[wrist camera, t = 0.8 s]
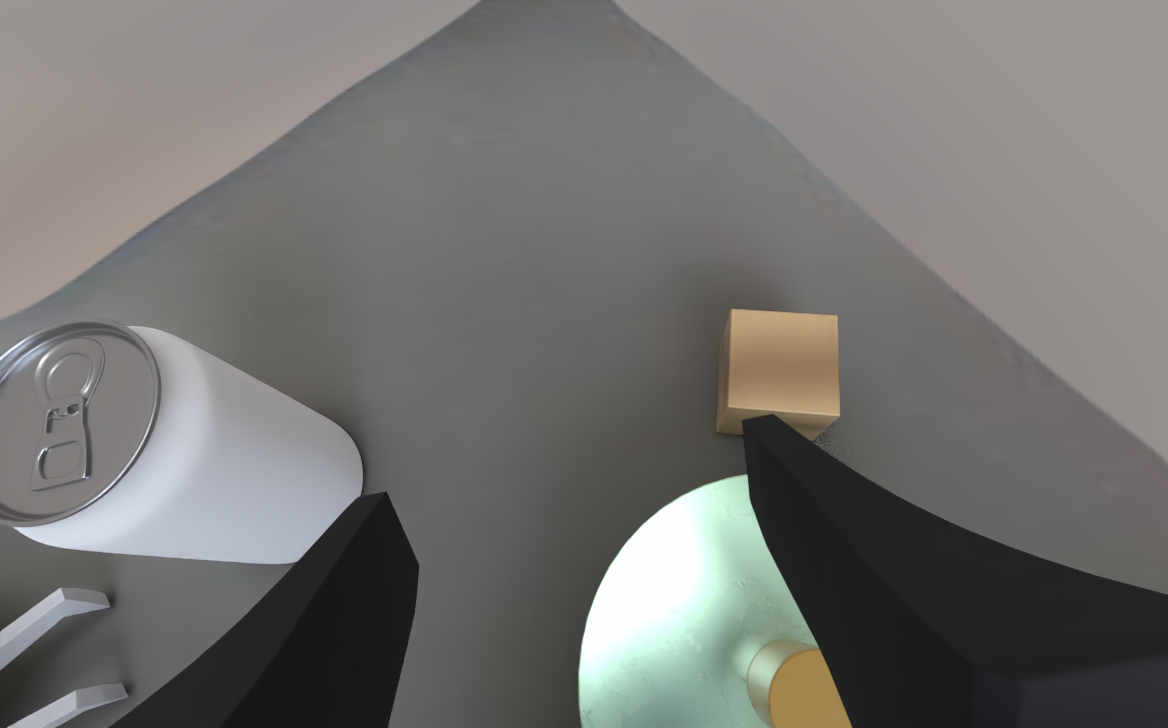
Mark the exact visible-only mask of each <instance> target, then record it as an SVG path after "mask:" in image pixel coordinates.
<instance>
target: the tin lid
mask: <svg viewBox="0 0 1168 728" xmlns="http://www.w3.org/2000/svg"><path fill="white" fill-rule="evenodd" d="M578 707H579V715H580V723H581V728H852V726H851V723H850V721H849V718H848V716H847V713H846V711H845V708H844V706H843V703H842V701H841V698H840V696H839V693H838V691H837V688H836V686H835V683H834V681H833V678H832V676H831V673H830V671H829V669H828V666H827V664H826V662H825V660H824V658H823V656H822V653H821V651H820V649H819V647H818V645H817V643H816V641H815V639H814V637H813V635H812V633H811V631H810V629H809V627H808V625H807V624H806V622H805V620H804V618H803V616H802V614H801V612H800V610H799V608H798V606H797V604H796V602H795V600H794V598H793V597H792V595H791V593H790V591H789V589H788V587H787V585H786V583H785V581H784V579H783V577H782V575H781V573H780V571H779V569H778V567H777V565H776V563H775V562H774V560H773V558H772V556H771V554H770V552H769V550H768V548H767V546H766V543H765V541H764V538H763V535H762V533H761V530H760V527H759V525H758V522H757V519H756V516H755V514H754V511H753V508H752V505H751V502H750V497H749V487H748V477H747V474H743V475H737V476H731V477H727V478H723V479H720V480H717V481H713V482H710V483H707V484H704V485H702V486H700V487H697V488H695V489H693V490H691V491H689V492H687V493H684V494H682V495H681V496H679V497H677V498H676V499H674V500H673V501H671V502H670V503H668V504H666V505H665V506H663V507H662V508H660V509H659V510H658V511H657V512H656V513H654V514H653V515H652V516H651V517H650V518H648V519H647V520H646V521H645V522H644V523H643V524H641V525H640V527H639V528H638V529H637V530H636V531H635V532H634V533H633V534H632V535H631V536H630V538H629V539H628V540H627V541H626V542H625V543H624V544H623V546H622V547H621V549H620V550H619V552H618V553H617V555H616V556H615V557H614V559H613V560H612V562H611V563H610V565H609V566H608V568H607V570H606V572H605V574H604V576H603V578H602V580H601V582H600V584H599V586H598V588H597V590H596V593H595V596H594V598H593V601H592V604H591V607H590V609H589V612H588V615H587V619H586V623H585V628H584V632H583V636H582V641H581V647H580V656H579V666H578Z"/></svg>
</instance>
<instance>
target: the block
mask: <svg viewBox="0 0 1168 728" xmlns="http://www.w3.org/2000/svg"><path fill="white" fill-rule="evenodd" d="M769 414H774V415H775V416H777V417H778V418H780V419H781V420H782V421H784V422H785V423H787V424H788V425H789V426H791V427H792V428H793V429H795V430H796V431H797V432H799V433H800V434H802V435H803V436H804V437H806V438H807V439H808V440H810V441H813V440H814V439H815V438H816V437H817V436H818V435H819V434H820V433H821V432H823V431H824V430H825V429H826V428H827V427H828V426H829V425H830V424H832V423H833V422H834V421H835V420H836V419H837V418H838V417H839V416H840V382H839V345H838V317H837V316H836V315H822V314H806V313H790V312H774V311H758V310H742V309H731V311H730V314H729V318H728V321H727V324H726V327H725V331H724V334H723V337H722V340H721V344H720V347H719V368H718V391H717V415H716V432H717V433H725V434H737V435H743V426H742V420H744V419H749V418H754V417H759V416H764V415H769Z"/></svg>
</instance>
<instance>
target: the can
mask: <svg viewBox="0 0 1168 728" xmlns="http://www.w3.org/2000/svg"><path fill="white" fill-rule="evenodd" d="M362 484H363V468H362V462H361V458H360V454H359V452H358V449H357V447H356V445H355V443H354V442H353V440H352V439H351V437H350V436H349V435H348V434H347V432H346V431H345V430H343V429H342V428H341V427H340V426H338V425H337V424H336V423H334V422H332V421H331V420H329V419H328V418H326V417H324V416H322V415H321V414H319V413H317V412H315V411H313V410H312V409H310V408H308V407H306V406H304V405H303V404H301V403H299V402H297V401H295V400H294V399H292V398H290V397H288V396H286V395H285V394H283V393H281V392H279V391H277V390H275V389H274V388H272V387H270V386H268V385H266V384H264V383H263V382H261V381H259V380H257V379H255V378H253V377H252V376H250V375H248V374H246V373H244V372H243V371H241V370H239V369H237V368H235V367H233V366H231V365H230V364H228V363H226V362H224V361H222V360H220V359H219V358H217V357H215V356H213V355H211V354H209V353H207V352H206V351H204V350H202V349H200V348H198V347H196V346H194V345H192V344H190V343H188V342H186V341H184V340H182V339H180V338H178V337H176V336H174V335H171V334H169V333H166V332H164V331H161V330H157V329H153V328H147V327H139V326H124V325H122V324H120V323H117V322H114V321H111V320H107V319H102V318H74V319H68V320H64V321H60V322H56V323H53V324H50V325H47V326H45V327H43V328H40V329H38V330H36V331H34V332H32V333H30V334H28V335H27V336H25V337H23V338H22V339H20V340H19V341H17V342H16V343H14V344H13V345H11V346H10V347H9V348H8V349H6V350H5V351H4V352H3V353H1V354H0V525H3V526H9V527H14V528H15V529H16V530H18V531H19V532H21V533H22V534H24V535H25V536H27V537H29V538H31V539H33V540H35V541H37V542H40V543H43V544H46V545H51V546H55V547H60V548H66V549H75V550H85V551H96V552H108V553H120V554H133V555H146V556H159V557H172V558H186V559H199V560H214V561H228V562H243V563H259V564H286V563H293V562H297V561H298V560H299V559H300V558H301V557H302V556H303V555H304V554H305V553H306V552H307V551H308V550H309V548H310V547H311V546H312V545H313V544H314V543H315V542H316V541H317V540H318V539H319V538H320V536H321V535H322V534H323V533H324V532H325V531H326V530H327V529H328V528H329V526H330V525H331V524H332V523H333V522H334V521H335V520H336V519H337V518H338V517H339V515H340V514H341V513H342V512H343V511H344V510H345V509H346V508H347V507H348V506H349V505H350V504H351V503H352V502H353V501H354V500H355V499H356V498H357V497H360V495H361V491H362Z"/></svg>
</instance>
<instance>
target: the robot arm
mask: <svg viewBox="0 0 1168 728" xmlns="http://www.w3.org/2000/svg"><path fill="white" fill-rule="evenodd" d="M742 426H743V436H744V447H745V457H746V467H747V477H748V487H749V497H750V502H751V505H752V508H753V511H754V514H755V516H756V519H757V522H758V525H759V527H760V530H761V533H762V535H763V538H764V541H765V543H766V546H767V548H768V550H769V552H770V554H771V556H772V558H773V560H774V562H775V563H776V565H777V567H778V569H779V571H780V573H781V575H782V577H783V579H784V581H785V583H786V585H787V587H788V589H789V591H790V593H791V595H792V597H793V598H794V600H795V602H796V604H797V606H798V608H799V610H800V612H801V614H802V616H803V618H804V620H805V622H806V624H807V625H808V627H809V629H810V631H811V633H812V635H813V637H814V639H815V641H816V643H817V645H818V647H819V649H820V651H821V653H822V656H823V658H824V660H825V662H826V664H827V666H828V669H829V671H830V673H831V676H832V678H833V681H834V683H835V686H836V688H837V691H838V693H839V696H840V698H841V701H842V703H843V706H844V708H845V711H846V713H847V716H848V718H849V721H850V723H851V726H852V728H1168V595H1167V594H1163V593H1159V592H1156V591H1152V590H1148V589H1144V588H1140V587H1137V586H1133V585H1129V584H1125V583H1122V582H1118V581H1114V580H1110V579H1107V578H1103V577H1099V576H1096V575H1092V574H1089V573H1086V572H1083V571H1079V570H1076V569H1073V568H1070V567H1067V566H1064V565H1061V564H1058V563H1055V562H1052V561H1049V560H1045V559H1042V558H1039V557H1037V556H1034V555H1031V554H1028V553H1025V552H1023V551H1020V550H1017V549H1014V548H1012V547H1009V546H1006V545H1004V544H1001V543H999V542H996V541H994V540H991V539H989V538H986V537H984V536H981V535H979V534H976V533H974V532H971V531H969V530H967V529H964V528H962V527H960V526H957V525H955V524H953V523H951V522H948V521H946V520H944V519H942V518H940V517H938V516H936V515H934V514H932V513H930V512H928V511H926V510H924V509H921V508H919V507H917V506H915V505H913V504H911V503H909V502H907V501H906V500H904V499H902V498H900V497H898V496H896V495H894V494H893V493H891V492H889V491H887V490H886V489H884V488H882V487H880V486H879V485H877V484H875V483H874V482H872V481H870V480H868V479H867V478H865V477H863V476H862V475H860V474H859V473H857V472H855V471H854V470H852V469H851V468H849V467H848V466H846V465H845V464H843V463H842V462H840V461H839V460H837V459H836V458H834V457H833V456H831V455H830V454H828V453H827V452H825V451H824V450H823V449H821V448H820V447H818V446H817V445H815V444H814V443H813V442H811V441H810V440H808V439H807V438H806V437H804V436H803V435H802V434H800V433H799V432H797V431H796V430H795V429H793V428H792V427H791V426H789V425H788V424H787V423H785V422H784V421H782V420H781V419H780V418H778V417H777V416H775V415H774V414H769V415H764V416H759V417H754V418H749V419H744V420H742ZM418 575H419V564H418V561H417V559H416V557H415V555H414V552H413V550H412V548H411V546H410V543H409V541H408V539H407V537H406V534H405V532H404V530H403V527H402V525H401V523H400V521H399V518H398V516H397V514H396V512H395V509H394V507H393V505H392V503H391V500H390V498H389V496H388V494H387V491H386V492H381V493H376V494H371V495H366V496H361V497H357V498H356V499H355V500H354V501H353V502H352V503H351V504H350V505H349V506H348V507H347V508H346V509H345V510H344V511H343V512H342V513H341V514H340V515H339V517H338V518H337V519H336V520H335V521H334V522H333V523H332V524H331V525H330V526H329V528H328V529H327V530H326V531H325V532H324V533H323V534H322V535H321V536H320V538H319V539H318V540H317V541H316V542H315V543H314V544H313V545H312V546H311V547H310V548H309V550H308V551H307V552H306V553H305V554H304V555H303V556H302V557H301V558H300V559H299V560H298V562H297V563H296V564H295V565H294V566H293V567H292V568H291V569H290V570H289V571H288V572H287V573H286V575H285V576H284V577H283V578H282V579H281V580H280V581H279V582H278V583H277V584H276V585H275V586H274V587H273V588H272V589H271V590H270V591H269V592H268V593H267V594H266V595H265V596H264V597H263V598H262V599H261V600H260V601H259V602H258V603H257V604H256V605H255V606H254V607H253V608H252V609H251V610H250V611H249V612H248V613H247V614H246V615H245V616H244V617H243V618H242V619H241V620H240V621H239V622H238V623H237V624H236V625H234V626H233V627H232V628H231V629H230V630H229V631H228V632H227V633H226V634H225V635H224V636H223V637H221V638H220V639H219V640H218V641H217V642H216V643H215V644H213V645H212V646H211V647H210V648H209V649H208V650H207V651H205V652H204V653H203V654H202V655H201V656H200V657H199V658H197V659H196V660H195V661H194V662H193V663H192V664H190V665H189V666H188V667H187V668H186V669H184V670H183V671H182V672H181V673H179V674H178V675H177V676H175V677H174V678H173V679H172V680H170V681H169V682H168V683H167V684H165V685H164V686H163V687H161V688H160V689H159V690H158V691H156V692H155V693H154V694H152V695H151V696H150V697H149V698H147V699H146V700H145V701H143V702H142V703H141V704H140V705H138V706H137V707H136V708H135V709H133V710H132V711H131V712H129V713H128V714H127V715H125V716H124V717H122V718H121V719H120V720H118V721H117V722H115V723H114V724H113V725H111V726H110V727H108V728H388V724H389V720H390V716H391V711H392V707H393V703H394V699H395V695H396V691H397V687H398V682H399V678H400V674H401V670H402V666H403V662H404V657H405V653H406V649H407V645H408V640H409V636H410V632H411V627H412V623H413V618H414V614H415V606H416V597H417V587H418Z"/></svg>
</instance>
